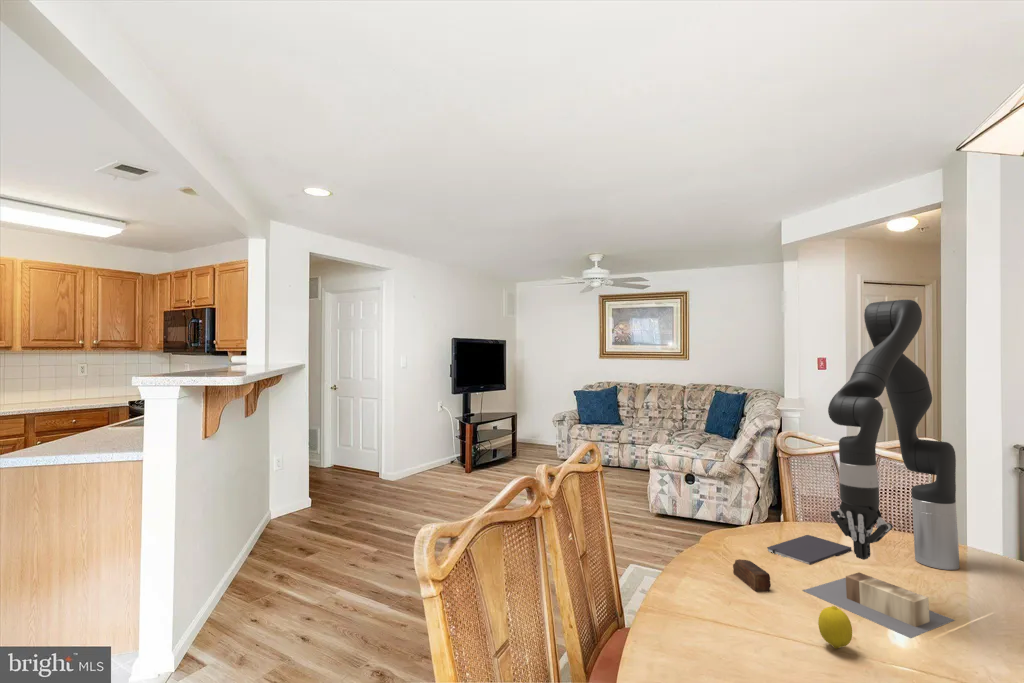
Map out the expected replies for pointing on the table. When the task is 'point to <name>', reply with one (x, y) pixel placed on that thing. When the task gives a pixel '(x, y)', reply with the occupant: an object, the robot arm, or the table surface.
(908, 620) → the tall block
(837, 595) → the rubber mat
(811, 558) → the notebook
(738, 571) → the brick
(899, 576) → the table surface
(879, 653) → the table surface
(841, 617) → the lemon
